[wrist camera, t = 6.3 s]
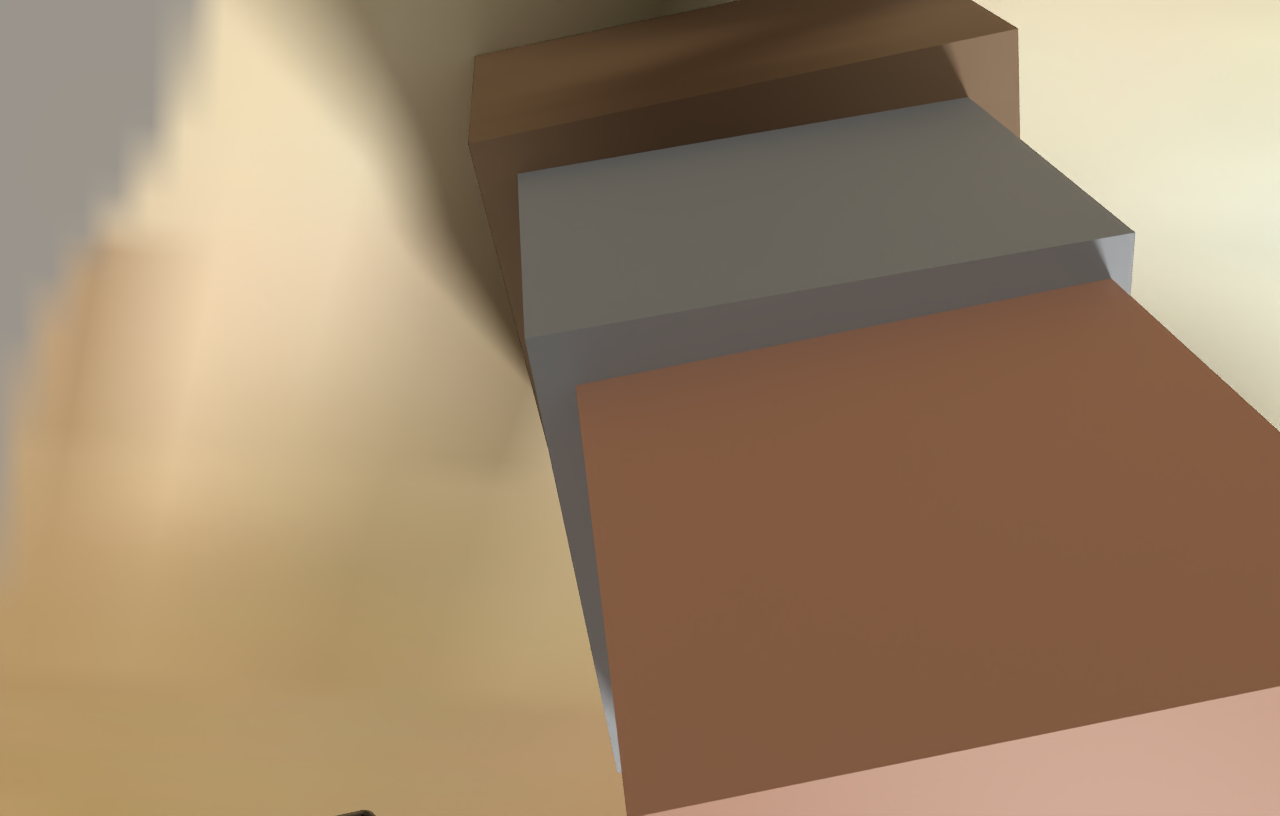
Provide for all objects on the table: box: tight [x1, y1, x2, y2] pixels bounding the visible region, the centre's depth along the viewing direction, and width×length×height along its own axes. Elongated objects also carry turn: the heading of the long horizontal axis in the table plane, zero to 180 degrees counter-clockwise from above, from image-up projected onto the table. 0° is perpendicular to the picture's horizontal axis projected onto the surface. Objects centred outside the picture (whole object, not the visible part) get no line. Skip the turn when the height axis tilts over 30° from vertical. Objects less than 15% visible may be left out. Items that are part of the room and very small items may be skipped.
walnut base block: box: [468, 0, 1020, 446], centre depth 16 cm, size 6×6×4 cm
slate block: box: [518, 97, 1135, 773], centre depth 13 cm, size 5×5×4 cm
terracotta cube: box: [575, 278, 1280, 816], centre depth 9 cm, size 4×4×4 cm
